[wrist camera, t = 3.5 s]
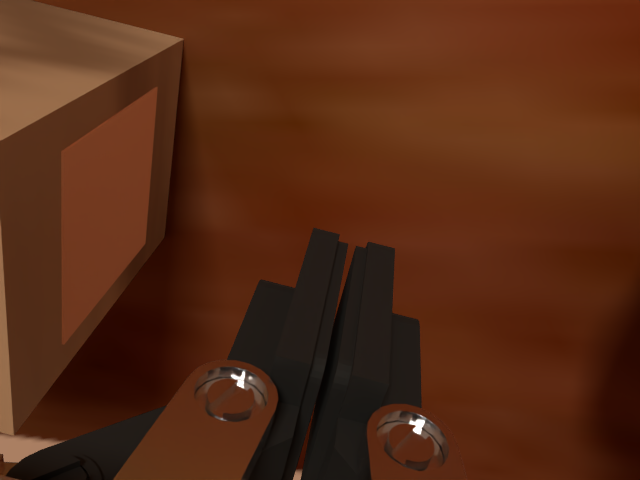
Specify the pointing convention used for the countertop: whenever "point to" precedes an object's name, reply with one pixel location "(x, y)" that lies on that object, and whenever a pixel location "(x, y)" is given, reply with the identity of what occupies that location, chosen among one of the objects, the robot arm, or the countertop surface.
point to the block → (75, 181)
